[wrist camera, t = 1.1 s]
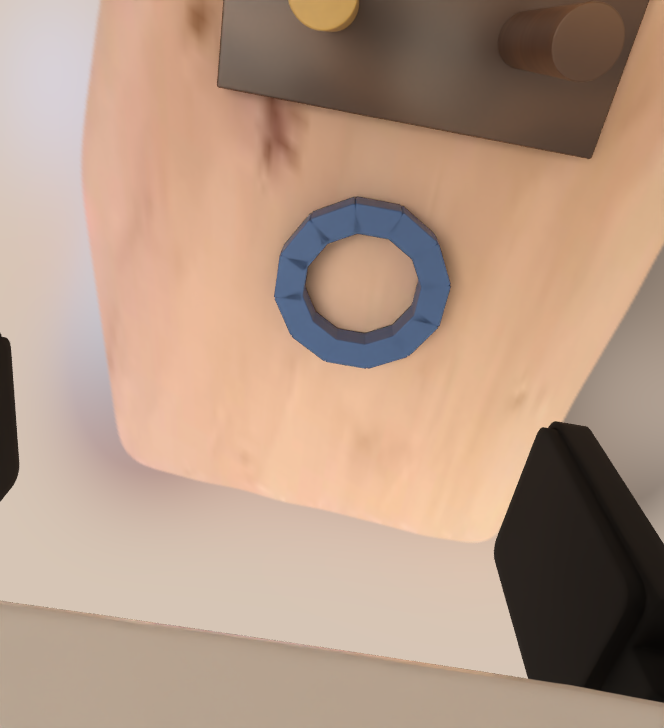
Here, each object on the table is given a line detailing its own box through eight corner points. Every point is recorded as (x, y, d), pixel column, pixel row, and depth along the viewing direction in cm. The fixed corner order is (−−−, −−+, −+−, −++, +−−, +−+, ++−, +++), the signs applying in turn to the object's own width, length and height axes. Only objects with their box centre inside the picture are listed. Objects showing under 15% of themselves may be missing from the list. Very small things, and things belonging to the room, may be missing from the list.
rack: (239, -139, 26) (177, -227, 17) (657, -50, 27) (802, -91, 18) (221, 85, 31) (164, 106, 22) (583, 155, 32) (672, 203, 23)
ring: (291, 184, 33) (288, 190, 32) (464, 216, 33) (469, 224, 32) (269, 340, 38) (266, 352, 36) (421, 366, 38) (424, 379, 37)
